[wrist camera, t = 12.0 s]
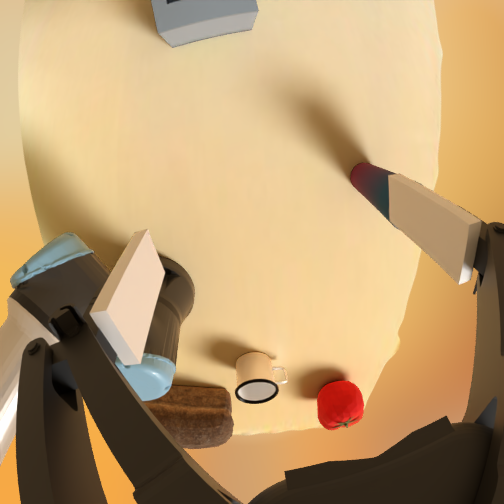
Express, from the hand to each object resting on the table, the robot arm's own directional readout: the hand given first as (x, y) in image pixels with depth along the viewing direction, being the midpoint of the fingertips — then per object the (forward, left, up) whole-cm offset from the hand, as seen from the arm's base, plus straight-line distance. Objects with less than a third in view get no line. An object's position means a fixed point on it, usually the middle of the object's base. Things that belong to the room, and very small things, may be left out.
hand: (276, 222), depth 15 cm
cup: (+19, -9, -32) cm, 38 cm away
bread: (-32, -58, -32) cm, 74 cm away
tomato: (+11, -68, -32) cm, 76 cm away
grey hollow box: (-1, +24, -32) cm, 40 cm away
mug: (-7, -48, -32) cm, 58 cm away
